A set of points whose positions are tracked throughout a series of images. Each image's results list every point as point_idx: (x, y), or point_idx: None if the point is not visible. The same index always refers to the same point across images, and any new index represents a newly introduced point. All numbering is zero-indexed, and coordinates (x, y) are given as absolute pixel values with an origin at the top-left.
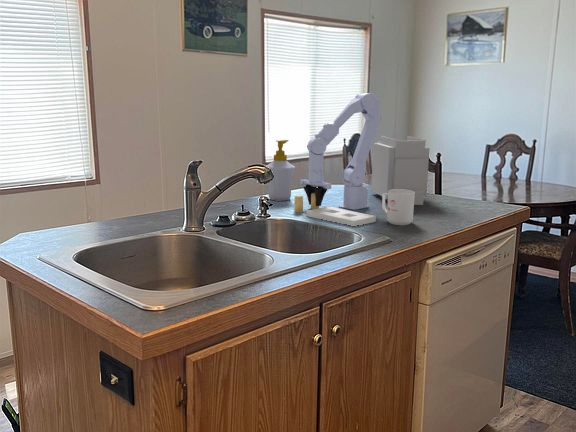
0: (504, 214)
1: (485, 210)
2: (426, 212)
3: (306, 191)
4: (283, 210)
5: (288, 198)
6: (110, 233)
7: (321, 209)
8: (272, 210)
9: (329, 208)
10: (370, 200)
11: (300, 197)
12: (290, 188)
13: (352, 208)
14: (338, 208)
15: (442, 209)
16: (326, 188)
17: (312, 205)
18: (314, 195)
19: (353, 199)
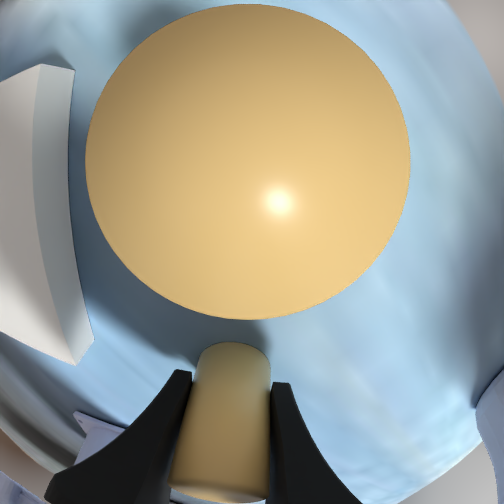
0: (2, 430)
1: (27, 449)
2: (19, 425)
3: (324, 499)
4: (431, 116)
5: (482, 401)
6: None
7: (7, 229)
8: (482, 69)
9: (19, 306)
10: (198, 501)
11: (108, 104)
12: (492, 447)
13: (83, 420)
14: (11, 336)
15: (42, 450)
16: (4, 479)
17: (228, 369)
18: (189, 464)
19: (78, 459)
